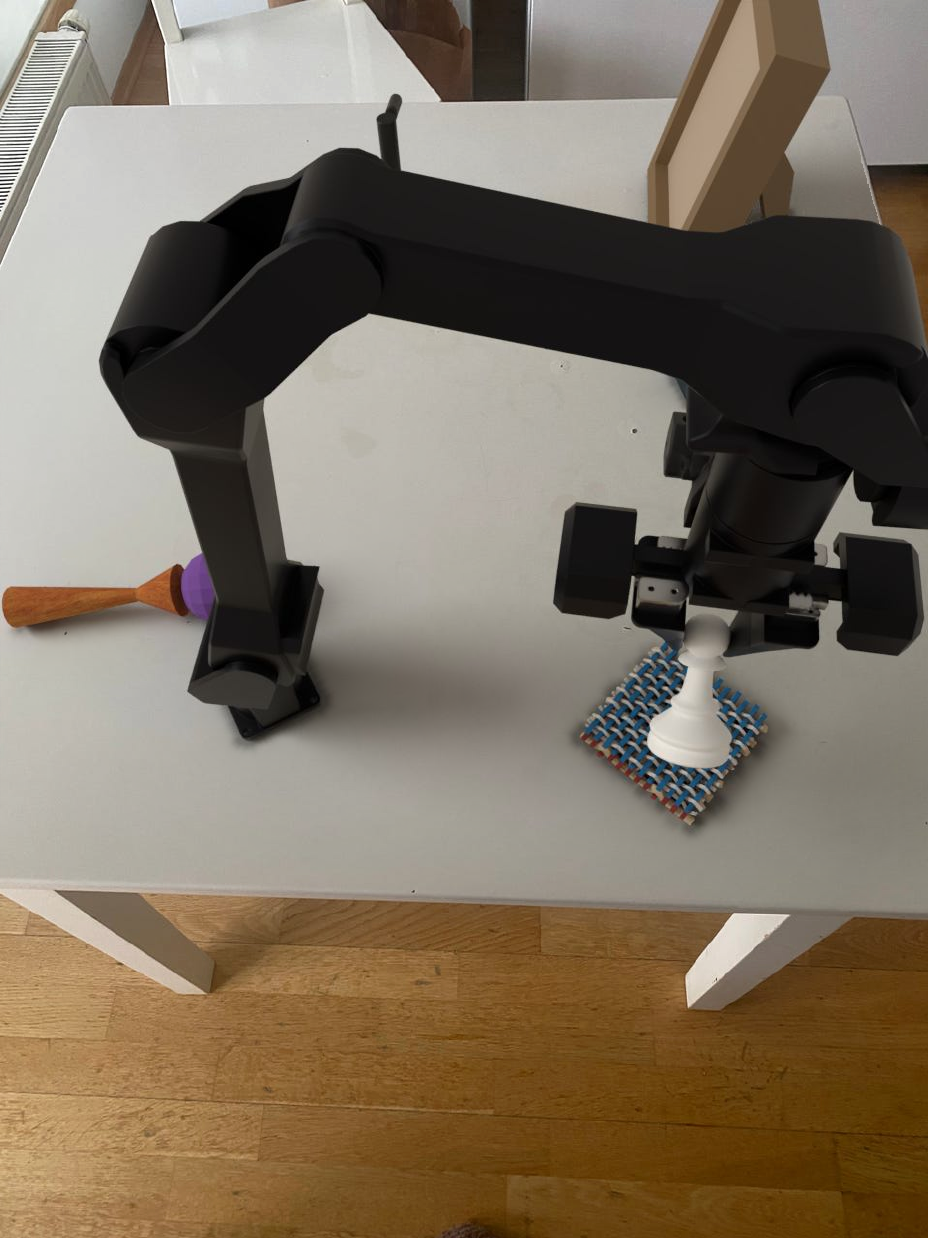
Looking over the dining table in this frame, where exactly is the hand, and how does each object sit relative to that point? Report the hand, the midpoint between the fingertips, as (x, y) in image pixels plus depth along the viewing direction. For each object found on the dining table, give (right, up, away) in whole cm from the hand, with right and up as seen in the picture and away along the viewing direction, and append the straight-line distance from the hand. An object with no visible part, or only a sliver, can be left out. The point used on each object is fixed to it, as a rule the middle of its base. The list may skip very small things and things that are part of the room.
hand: (700, 646), depth 55 cm
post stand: (-21, +40, +38) cm, 60 cm away
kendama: (-41, +2, +18) cm, 45 cm away
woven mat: (+1, -7, +11) cm, 13 cm away
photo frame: (+12, +40, +37) cm, 56 cm away
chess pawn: (-1, -7, +1) cm, 7 cm away
